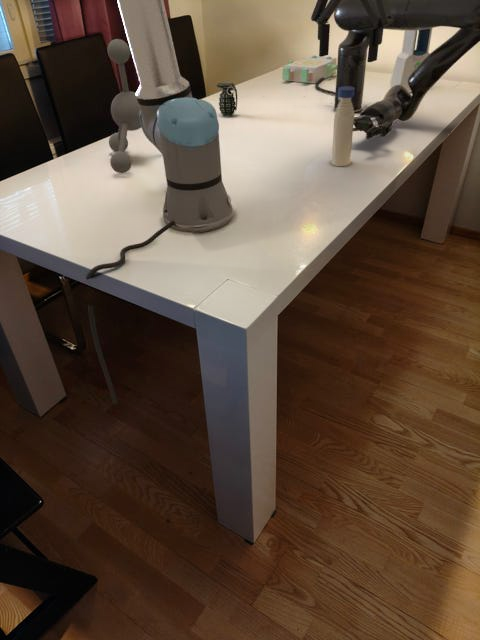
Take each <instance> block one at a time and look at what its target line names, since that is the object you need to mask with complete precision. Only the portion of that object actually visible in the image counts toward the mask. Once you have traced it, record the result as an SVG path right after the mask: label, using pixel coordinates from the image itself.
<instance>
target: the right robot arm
mask: <svg viewBox="0 0 480 640" xmlns="http://www.w3.org/2000/svg"><path fill="white" fill-rule="evenodd" d="M374 2H375V4H376V6H377V2H376V0H374ZM388 2H389V6H390V10H391V14H392V18H393V22H392V24H389V25H387V26H385V27H384V29H383V30H389V31H391V30H392V31H405V30H413V31H415V30H418V31H419V30H425V29H430V28H432V29H433V28H439V27H446V28H447V27H449V28H457V29H458V30H457V31H456V32H455V33H454V34H452V36H450V38H448V39H447V40H446V41H444V42H443V43H441V44H440V45H439V46H437V47H436V48H435V49H434V50H432V51H431V52H429V55H428V56H427V57H426V58H425V59H424V60H423V61H422V62H421V63H420V64H419V66H418V67H417V68H416V69H415V70H414V71H413V72H412V73H411V75H410V76H409V78H408V85H409V87H410V89H411V91H412V92H410V93H409V92H408V91H407V90H406V89H405V88H404V87H403V86H401V85H395V86H393V87H392V88H391V87H390V88H389V89H388V91H386V93H385V95H384V96H383V98H382V99H381V100H379V101H376V102H374V103H372V104H370V105H369V106H367V107H365V108H364V109H363V100H364V99H363V98H364V90H365V89H364V88H365V78H366V67H367V60H368V50H369V40H370V30H371V29H372V28H373V27H374V25H373V23H372V21H371V19H370V17H369V15H368V13H367V12H366V10H365V8H364V6H363V4H362V2H361V1H360V0H341V2H340V3H339V5H338V6H337V8H336V9H335V11H334V12H333V19H334V22H335V24H336V25H337V27H338V28H339V29H341V30H342V31H345V32H347V35H346V37H345V38H344V40H343V41H341V42H340V43H339V45H338V49H337V60H336V65H337V70H336V77H335V90H334V91H333V90H328V89H324V88H322V87H320V86H319V84H320V83H321V82H322V81H323V80H325V79H324V77H323V78H321V79H320V80H319V81H318V82H317V83H315V86H314V87H315V88H316V90H319V91H321V92H323V93H326V94H331V95H334V107H333V111H334V112H335V111H336V108H337V107H338V104H339V101H340V97H338V88H339V87H344V86H350V87H354V88H355V92H354V97H351V101H352V104H353V108H354V109H353V110H354V114H356V113H360V112H361V113H360V114H359V116H354V124H353V132H364V133H365V139H366V140H370V139H372V138H374V137H379V135H380V137H387V136H388V135H389V134H390V133H391V132H392V131H393V124H394V122H396V121H399V122H405V121H408V120H410V119H411V118H412V117H413V116H414V115H415V114H416V112H417V110H418V108H419V106H420V105H421V102H422V101H423V99H424V97H425V96H426V94H427V93H428V92H429V91H430V90H431V88H433V86H435V84H436V83H437V82H438V81H439V80H440V79H441V78H442V77H443V76H444V75H445V74H446V73H447V72H448V71H449V70H450V69H451V68H452V67H453V66H454V65H455V64H456V63H457V62H458V61H459V60H460V59H461V58H462V57H464V55H466V54H467V53H468V52H469V51H470V50H471V49H472V48H474V47H475V46H476V45H477V44H478V43H480V0H388ZM377 8H378V6H377Z"/></svg>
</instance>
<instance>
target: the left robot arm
mask: <svg viewBox="0 0 480 640" xmlns="http://www.w3.org/2000/svg"><path fill="white" fill-rule="evenodd" d="M360 1H361V2H362V4H363V6H364V8H365V10H366V12H367V13H368V15H369V17H370V19H371V21H372V23H373V25H374V27H373V28H372V29H371V30H370V40H369V47H368V49H367V59H366V63H373V62H375V61H377V60H378V52H379V45H382V43H383V37H384V36H383V35H384V30H385V29H384V27H385V26H387V25H389V24H392V22H393V18H392V14H391V10H390V6H389V2H388V0H376V2H377V6H378V8H377V6H376V4H375V2H374V0H360ZM340 2H341V0H317V1H316V3H315V5H314V9H313V11H312V14H311V16H310V20H311V22H315V23H316V24H317V41H319V49H318V57H327V56H329V52H330V51H329V50H330V49H329V48H330V31H331V24H330V23H329V20H330V18H331V17H332V15H334V11H335V9H336V8H337V6H338V5H339V3H340ZM117 5H118V8H119V12H120V16H121V19H122V23H123V26H124V31H125V34H126V38H127V41H128V46H129V49H130V53H131V57H132V59H133V63H134V67H135V70H136V74H137V77H138V82H139V86H138V88H137V90H136V92H135V93H136V98H137V101H138V105H139V108H140V124H141V130H142V132H143V134H144V136H145V138H146V139H147V140H148V141H149V142H150V143H151V144H152V145H153V146H154V147H155V148H156V149H157V151H159V152H160V154H161V155H162V159H163V168H164V174H165V180H166V190H165V191H166V192H165V196H164V203H163V207H162V218H163V222H164V224H165V225H164V226H163V227H161V228H160V229H159V230H157V231H156V232H155V233H154V234H152V235H151V236H150V237H149V238H147V239H146V240H144V241H143V242H140V243H134V244H130V245H127V246H125V247H123V248H122V249H121V250H120V252H119V257H120V258H119V260H117V261H114V262H108V263H101V264H98V265H96V266H94V267H93V268H91V269H90V270H89V272H87V275H86V276H85V277H86V278H85V279H86V280H90V279H92V278H93V276H94V275H95V274H96V273H97V272H98V271H101V270H106V269H113V268H118V267H119V266H122V265H123V264H124V263H125V261H126V253H127V252H128V251H133V250H137V249H141V248H144V247H147V246H148V245H150V244H151V243H153V242H154V240H156V239H157V238H159V236H162V234H163V233H165V232H166V231H168V230H169V229H171V230H173V231H177V232H180V233H190V234H191V233H192V234H193V233H194V234H195V233H196V234H197V233H205V232H206V233H207V232H210V231H215V230H216V229H220V228H222V227H224V226H226V225H227V224H228V223H230V221H231V220H232V218H233V216H234V212H233V211H234V210H233V205H232V199H231V196H230V194H228V192H227V190H226V187H225V184H224V182H223V175H222V174H223V173H222V161H221V159H222V158H221V147H220V146H221V145H220V133H219V131H220V124H219V119H218V114H217V111H216V108H215V106H214V105H212V103H211V102H209V101H207V100H204V99H202V98H199V99H197V98H196V97H193V94H192V90H191V85H190V81H188V80H187V79H186V78H185V77H183V76H182V75H181V73H180V68H179V65H178V59H177V55H176V50H175V46H174V41H173V36H172V32H171V28H170V23H169V19H168V14H167V10H166V5H165V0H117ZM87 311H88V312H87V313H88V318H89V325H90V330H91V335H92V339H93V343H94V347H95V351H96V354H97V357H98V360H99V363H100V366H101V370H102V372H103V375H104V378H105V381H106V385H107V387H108V390H109V394H110V397H111V401H112V404H113V405H117V404H118V400H117V396H116V392H115V389H114V385H113V383H112V378H111V377H110V374H109V373H110V372H109V370H108V368H107V364H106V361H105V357H104V355H103V351H102V347H101V344H100V341H99V337H98V336H99V335H98V332H97V327H96V320H95V313H94V306H93V305H91V304H87Z"/></svg>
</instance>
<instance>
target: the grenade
mask: <svg viewBox="0 0 480 640" xmlns="http://www.w3.org/2000/svg"><path fill="white" fill-rule="evenodd" d="M215 87H217V88H219V89H221V93H219V97H218V101H219V102H218V106H219V108H218V109H219V112H220V114H221V115H222V116H224V117H231V116H233V115H234V113H235V112H236V111H237V108H238V89H237V87H236V85H235V84H234V83H233V82H218V83H217V84H216V86H215ZM232 91H233V92H232ZM234 94H235V96H234Z"/></svg>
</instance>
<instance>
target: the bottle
mask: <svg viewBox="0 0 480 640" xmlns="http://www.w3.org/2000/svg"><path fill="white" fill-rule="evenodd" d="M353 109H354V108H353V104H352V101H351V98H341V97H340V101H339V104H338V107H337V108H336V111H334V118H333V133H332V135H333V136H332V147H331V160H330V163H331V165H332V166H336V167H346V166H349V165H350V164H351V155H352V145H353V134H354V131H353V128H354V117H355V113H354V110H353Z"/></svg>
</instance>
